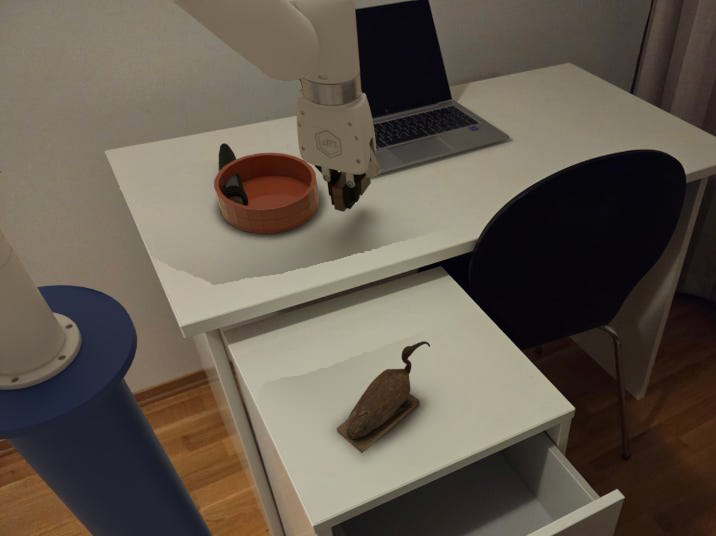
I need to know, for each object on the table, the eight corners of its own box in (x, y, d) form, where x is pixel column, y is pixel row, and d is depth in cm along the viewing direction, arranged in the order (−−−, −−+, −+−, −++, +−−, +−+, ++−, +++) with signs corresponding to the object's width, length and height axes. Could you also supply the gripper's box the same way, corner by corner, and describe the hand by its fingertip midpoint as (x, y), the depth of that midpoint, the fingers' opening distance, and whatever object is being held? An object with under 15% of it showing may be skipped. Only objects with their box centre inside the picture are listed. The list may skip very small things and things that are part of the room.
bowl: (201, 219, 99) (193, 195, 96) (252, 168, 109) (246, 144, 106) (291, 243, 97) (287, 219, 94) (335, 188, 107) (332, 165, 104)
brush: (350, 213, 95) (348, 191, 92) (328, 208, 96) (325, 185, 93) (372, 182, 101) (371, 160, 98) (351, 177, 101) (349, 155, 98)
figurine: (416, 366, 83) (416, 320, 77) (442, 385, 82) (444, 339, 75) (336, 432, 76) (328, 388, 69) (362, 454, 74) (356, 410, 68)
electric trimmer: (239, 157, 111) (235, 140, 109) (250, 208, 102) (245, 191, 99) (216, 160, 110) (212, 143, 108) (225, 212, 101) (220, 195, 98)
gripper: (262, 85, 81) (286, 204, 95) (377, 110, 79) (384, 228, 93) (290, 60, 86) (309, 177, 100) (399, 83, 84) (402, 199, 98)
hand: (345, 201), depth 97 cm, fingers closed on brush
